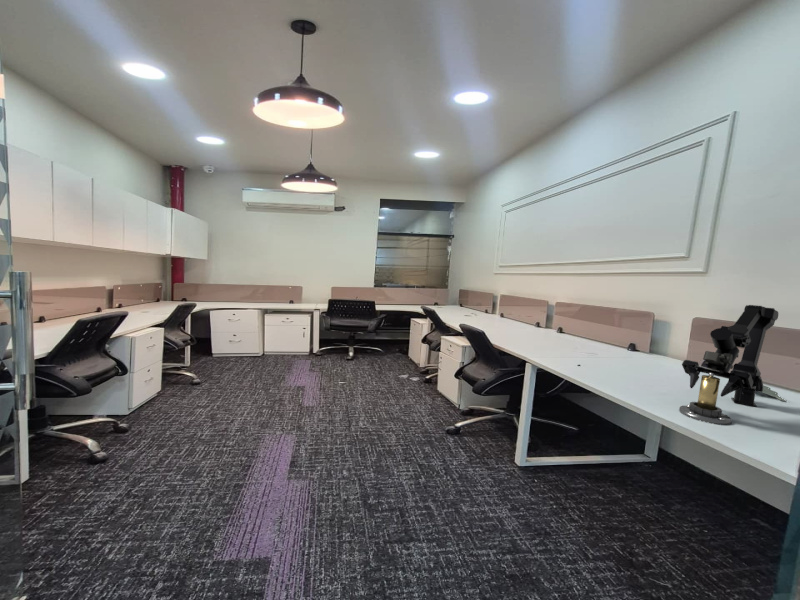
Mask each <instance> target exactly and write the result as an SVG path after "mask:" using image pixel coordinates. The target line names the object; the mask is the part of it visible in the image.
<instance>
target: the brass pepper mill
mask: <svg viewBox="0 0 800 600" xmlns="http://www.w3.org/2000/svg"><path fill="white" fill-rule="evenodd" d="M720 382H721V378H720V377H718V376H714V373H709V374H702V375H701V380H700V386H699V391H698V398H697V402H698V403H697V406H698V407H701V408H704V409H709V410H715V407H716V406H717V399H718V395H719V389H720Z"/></svg>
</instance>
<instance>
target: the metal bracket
mask: <svg viewBox="0 0 800 600" xmlns="http://www.w3.org/2000/svg"><path fill="white" fill-rule="evenodd" d="M755 387H756V386H755ZM762 393H763V394H765V395H768V396H771V397H773V398H776V399H778V400H779V401H783V402H785V400H786V399H785V398H783V397H782V396H780V395H779V394H778V392H777V391H775V390H771V387H769V386H767V385H764V384H763V392H762ZM775 393H776V394H775ZM778 395H779V396H780V397H779V396H778ZM781 397H782V398H783V399H782V398H781ZM784 399H785V400H784Z"/></svg>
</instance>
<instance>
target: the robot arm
mask: <svg viewBox="0 0 800 600" xmlns="http://www.w3.org/2000/svg"><path fill="white" fill-rule="evenodd" d="M778 319H779V312H778V311H777V310H776V309H775V308H774V307H766V306H762V305H758V304H757V305H754V304H747V305H745V307H744V309H743V312H742V313H741V315H740V316H739V317H738V319H737V320H736V321H735V323H734V324H733V325H731V326H726V325H722V326H721V327H719V328H715V329H713V330H712V331H710V337H711V341H712V343H713V347H714V348H716V350H715V352H714V351H709V350H705V352H704V355H703V358H702V359H703V361H704V365H705V366H700V365H699V364H700V363H698V361H695V360H690V359H685V360H683V361H682V363H681V366H682V369H683V371H684V372H685V374H686V375H688V376H689V387H690V389H694V387H695V386H696V384H697V383H698V380H699V379H700V376H699V375H700V374H701V373H703V374H706V375H709V373H714V376H713V377H718V378H724V379H727V383H726V384H725V386H724V388H723V389H722V391H721V393H720V397H725V396H727V395H729V394H730V393H733V392H734V396H733V397H730V398H731V401H732V402H733V403H735V404H740V405H744V406H745V405H746V406H751V407H756V408H757V407H758V405H757V403H755V399H756V398H755V397H756V393H759V392H760V393H763V385H764V383H763V379H762V376H761V375H762V374H761V371H760V369H759V367H758V363H759V359H760V355H761V351H762V347H763V344H764V340H765V336H766V332H767V331H768V330H770V329H771V328H772V327H773V326H775V323H776V321H777V320H778ZM739 348H743V352H742V356H741V360H740V361H739V362H738V363H735V361H736V359H737V358H739V353H740V349H739ZM755 386H756V387H755Z"/></svg>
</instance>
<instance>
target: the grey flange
mask: <svg viewBox="0 0 800 600" xmlns="http://www.w3.org/2000/svg"><path fill="white" fill-rule="evenodd" d="M697 403H698V401H691V402H689V404H687V405H680V406H679V409H678V411H679V413H681V414H682V415H684V416H685V417H688V418H690V417H691V418H690V419H694V420H696V421H699V420H701V422H703V421H705V422H704V423H707V422H709V423H708V424H712V423H714V425H720V424H721V426H727V425H731V424H732V420H733V419H732V418H731V417H730V416H728V415H727V414H725V413H723V410H722V408H720V407H719V406H717V405H716V407H715V410H709V409H704V408H701V407H698V406H697Z"/></svg>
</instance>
